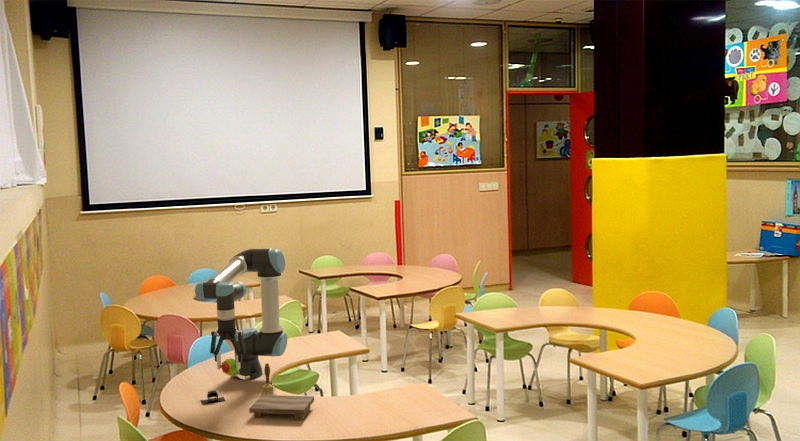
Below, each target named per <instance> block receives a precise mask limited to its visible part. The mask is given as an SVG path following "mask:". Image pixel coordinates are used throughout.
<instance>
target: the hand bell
mask: <svg viewBox="0 0 800 441" xmlns="http://www.w3.org/2000/svg"><path fill="white" fill-rule="evenodd" d="M263 371H264V375H265V384H264V385H263V386H262V391H261V393H260V395H259V397H260V396H261V395H277V393H275V390H274V387H273V385H272V384H271V382H270V374H271V368H270V364H269V363H265V366H264V370H263ZM259 397H258V398H259Z"/></svg>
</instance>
